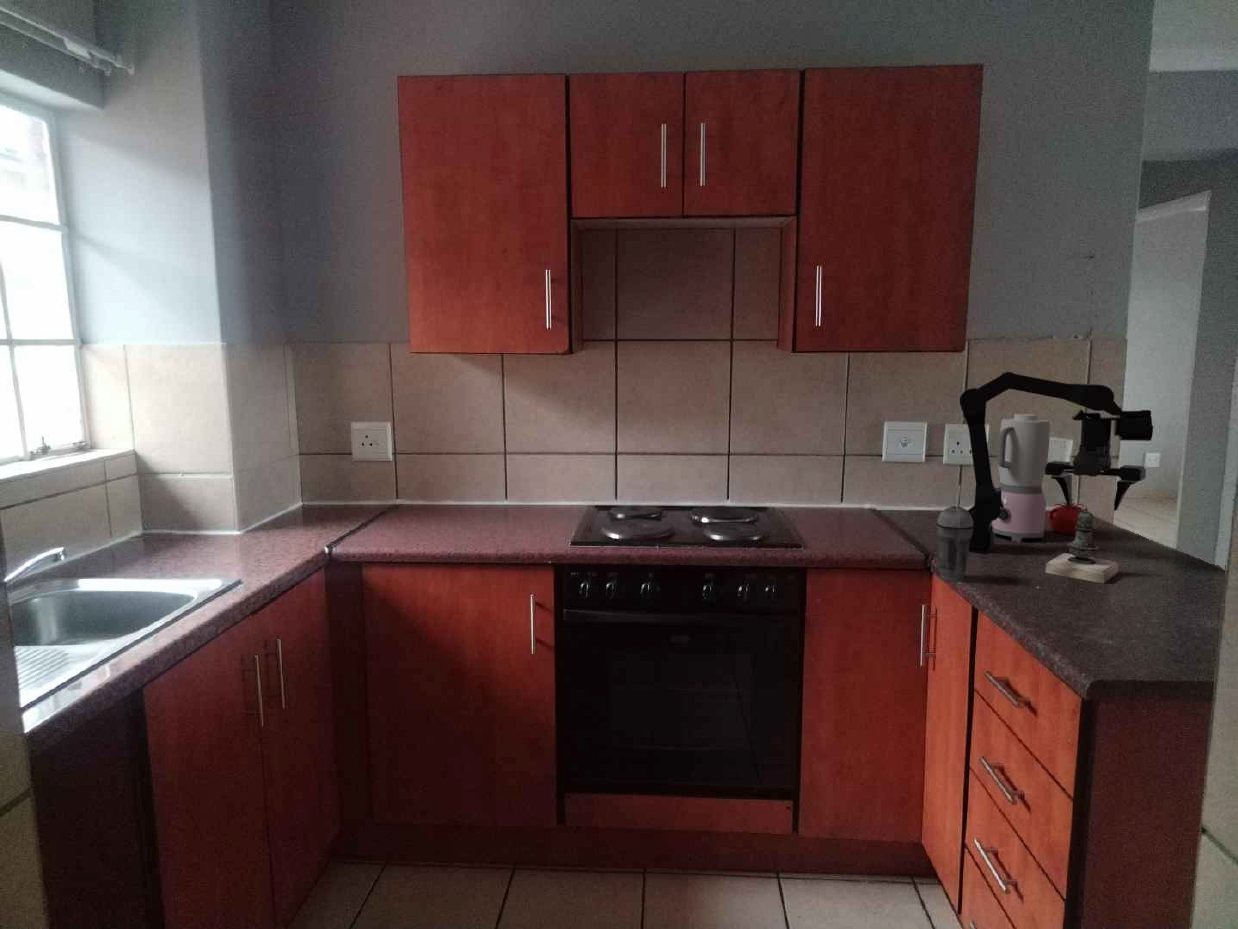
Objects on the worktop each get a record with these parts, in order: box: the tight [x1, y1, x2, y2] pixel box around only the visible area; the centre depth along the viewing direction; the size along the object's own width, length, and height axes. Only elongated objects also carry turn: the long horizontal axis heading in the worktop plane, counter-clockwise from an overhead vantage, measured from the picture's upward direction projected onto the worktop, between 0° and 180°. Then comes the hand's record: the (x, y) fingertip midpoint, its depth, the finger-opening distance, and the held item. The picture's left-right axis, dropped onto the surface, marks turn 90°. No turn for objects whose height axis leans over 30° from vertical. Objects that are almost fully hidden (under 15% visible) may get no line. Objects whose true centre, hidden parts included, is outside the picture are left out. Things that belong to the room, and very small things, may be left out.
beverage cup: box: [936, 484, 974, 582], centre depth 158 cm, size 7×7×20 cm
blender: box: [991, 413, 1051, 543], centre depth 191 cm, size 16×12×32 cm
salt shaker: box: [1067, 507, 1100, 565], centre depth 161 cm, size 6×6×12 cm
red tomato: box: [1047, 498, 1087, 536], centre depth 199 cm, size 10×10×9 cm
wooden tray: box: [1044, 552, 1119, 584], centre depth 162 cm, size 11×11×2 cm
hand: (1091, 508), depth 170 cm, fingers open, 9 cm apart
